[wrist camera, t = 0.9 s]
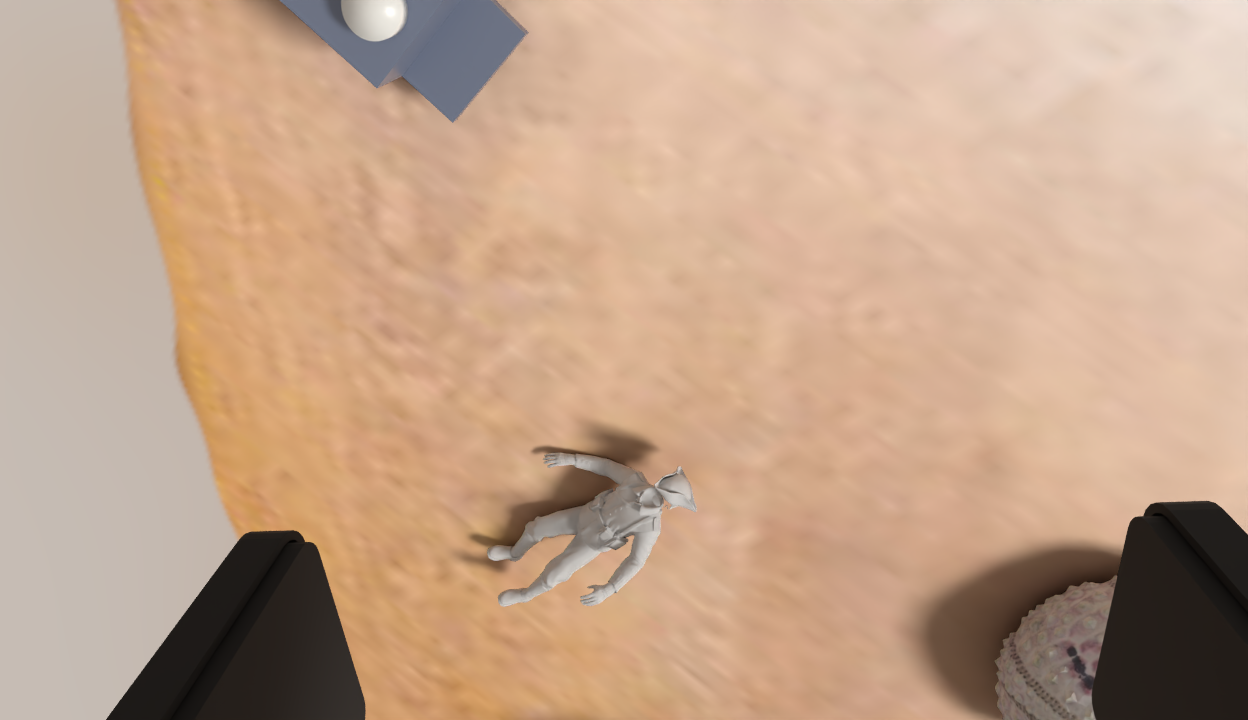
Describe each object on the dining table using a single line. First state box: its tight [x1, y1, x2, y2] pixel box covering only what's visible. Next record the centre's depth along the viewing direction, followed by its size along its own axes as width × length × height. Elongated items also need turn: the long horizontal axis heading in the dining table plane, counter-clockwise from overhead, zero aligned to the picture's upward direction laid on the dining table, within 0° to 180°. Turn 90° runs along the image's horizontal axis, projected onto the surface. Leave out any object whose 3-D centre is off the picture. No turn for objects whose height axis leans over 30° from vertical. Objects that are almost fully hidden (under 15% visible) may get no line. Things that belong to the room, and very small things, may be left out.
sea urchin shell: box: [995, 575, 1117, 720], centre depth 42 cm, size 13×14×8 cm
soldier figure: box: [487, 452, 697, 607], centre depth 42 cm, size 8×5×12 cm
